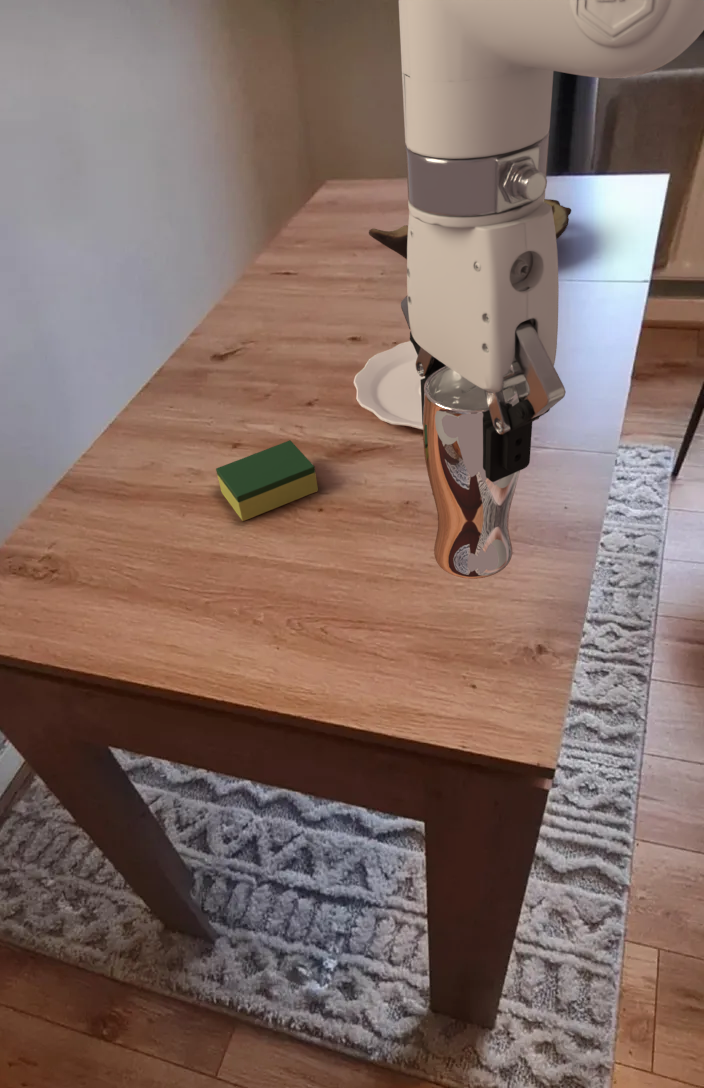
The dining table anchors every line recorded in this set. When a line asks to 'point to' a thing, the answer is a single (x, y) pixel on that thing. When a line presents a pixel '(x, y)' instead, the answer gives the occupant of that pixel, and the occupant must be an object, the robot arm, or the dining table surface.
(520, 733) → the dining table surface
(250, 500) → the sponge
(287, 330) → the dining table surface
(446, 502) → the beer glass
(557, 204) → the broken bowl
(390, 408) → the plate
